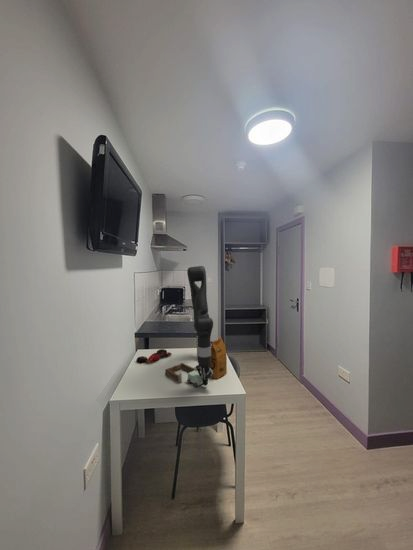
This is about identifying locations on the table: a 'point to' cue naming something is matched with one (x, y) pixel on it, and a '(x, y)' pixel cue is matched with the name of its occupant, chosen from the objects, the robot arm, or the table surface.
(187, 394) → the table surface
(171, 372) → the bay
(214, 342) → the coffee package
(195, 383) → the cart
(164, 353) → the toy motorcycle
